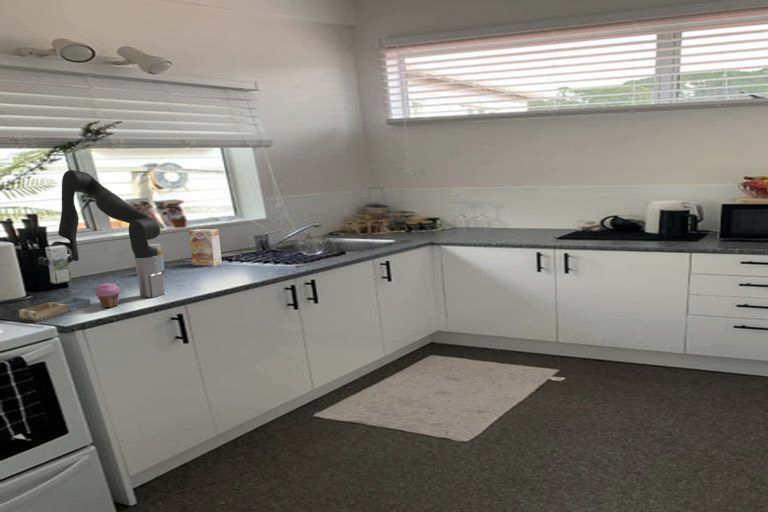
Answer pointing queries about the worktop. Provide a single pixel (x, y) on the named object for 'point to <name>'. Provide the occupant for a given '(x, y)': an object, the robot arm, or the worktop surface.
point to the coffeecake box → (205, 247)
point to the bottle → (159, 256)
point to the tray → (42, 311)
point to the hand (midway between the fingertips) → (57, 261)
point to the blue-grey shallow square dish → (75, 302)
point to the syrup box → (58, 264)
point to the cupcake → (108, 294)
